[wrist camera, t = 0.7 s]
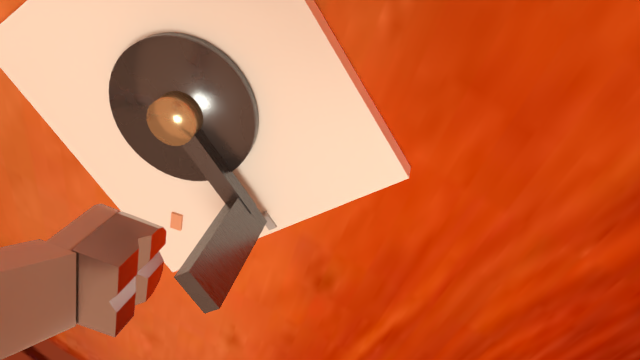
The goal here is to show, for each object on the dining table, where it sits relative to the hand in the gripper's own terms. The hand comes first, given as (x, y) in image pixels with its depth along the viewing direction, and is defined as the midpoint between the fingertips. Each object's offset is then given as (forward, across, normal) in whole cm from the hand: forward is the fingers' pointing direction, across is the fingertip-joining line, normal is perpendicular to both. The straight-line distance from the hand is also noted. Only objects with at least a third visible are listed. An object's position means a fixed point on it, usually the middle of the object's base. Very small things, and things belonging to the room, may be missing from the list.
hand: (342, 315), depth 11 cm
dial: (+34, +17, +15) cm, 41 cm away
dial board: (+36, +19, +13) cm, 42 cm away
